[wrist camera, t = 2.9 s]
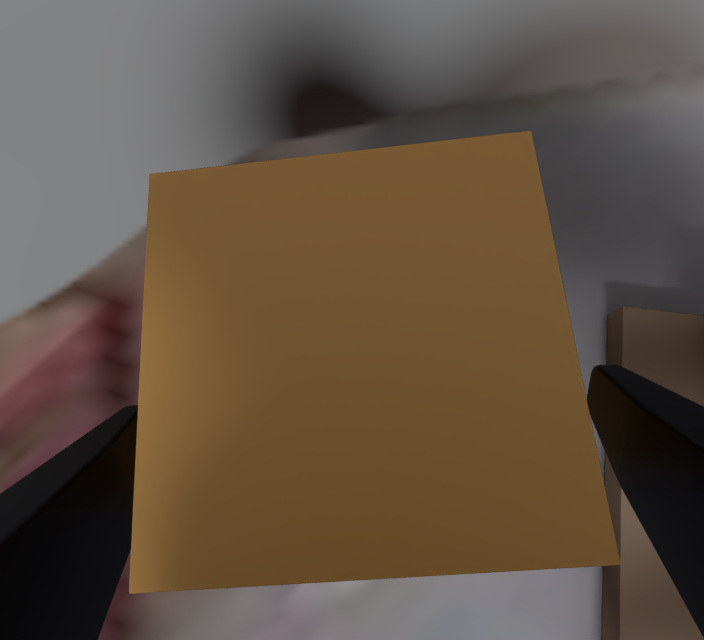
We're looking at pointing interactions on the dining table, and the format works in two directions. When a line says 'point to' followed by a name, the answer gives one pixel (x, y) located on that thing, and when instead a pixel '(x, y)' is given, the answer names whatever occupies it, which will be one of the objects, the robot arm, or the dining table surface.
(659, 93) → the dining table surface
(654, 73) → the dining table surface
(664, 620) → the keeper
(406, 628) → the dining table surface
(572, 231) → the dining table surface
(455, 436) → the block
